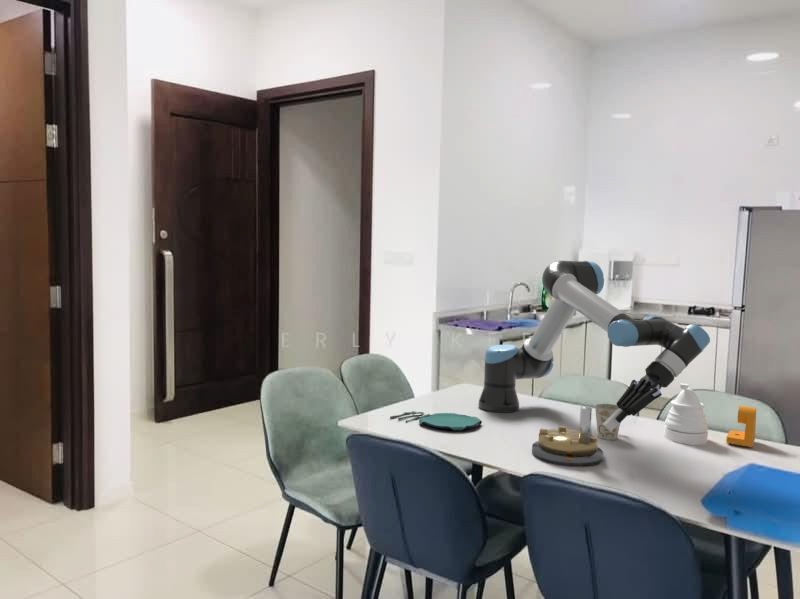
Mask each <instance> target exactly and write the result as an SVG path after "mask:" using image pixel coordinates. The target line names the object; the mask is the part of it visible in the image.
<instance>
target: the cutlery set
mask: <svg viewBox="0 0 800 599" xmlns="http://www.w3.org/2000/svg"><path fill="white" fill-rule="evenodd" d="M411 417H413V418H411ZM408 418H411V419H408ZM389 419H390V420H393V419H397V420H398V421H401V420H404V419H407V420H405V423H406V424H407V423H408V422H411V421H413V420H418V422H419V425H421V423H422V424H424V425H426V426H429V427H433V428H439V429H445V430H446V429H448V430H449V429H450V430H453V431H463V430H465V429H471V428H475V427H477V426H479V425H481V424H482V423H483V421H482V420H481V419H480V418H479V417H477V416H469V415H466V414H460V413H459V414H458V413H454V412H446V413H445V412H438V413H433V414H430V413H427V414H425V412H422V411H415V410H412V411H407V412H403V413H401V414H398V415H391V416H390V417H389Z"/></svg>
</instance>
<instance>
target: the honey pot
mask: <svg viewBox="0 0 800 599" xmlns="http://www.w3.org/2000/svg"><path fill="white" fill-rule="evenodd" d="M679 386H680V389H681V391H680V392H679V393H678V395H676V398H675V399H673V400H671V402H670V405H671V408H670V409H669V410H668V414H667V417H666V419H665V420H664V431H663V437H664V438H665V439H666V440H669V441H671V442H673V441H674V442H673V443H677V442H679V443H678V444H683V443H685V445H692V444H700V445H705V444H707V443H708V433H709V430H708V428H709V425H708V423H707V419H706V414H705V412H704V408H705V404H704V403H702V402H701V401H700V398H699V396H698V395H697V392H695V390H694V389H692V388H690V387H689V386H690V385H689V383H679Z"/></svg>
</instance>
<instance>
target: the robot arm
mask: <svg viewBox="0 0 800 599" xmlns="http://www.w3.org/2000/svg"><path fill="white" fill-rule="evenodd" d="M604 276H605V275H604V272H603V269H602V268H601V266H600V265H599V264H597V263H596V262H594V261H588V260H583V261H581V260H578V261H577V260H556V261H554V262H552V263H550V264H549V265H548V266H546V267H545V269H544V271H543V273H542V277H541V278H542V280H541V283H542V285H543V288H544V290H545V291H546V292H547V293H548V295H549V296H551V297H552V298H553V299H552V302H551V303H550V305H549V307H548V309H547V311H546V312H545V314H544V316H543V318H542V319H541V321H540V322H539V325H537V328H536V330H535V332H534V333H533V335H532V336H531V337H530V338H527V339H526V340H525V341H524V342H523V344H522V346H521V347H519V348H517V346H516V345H514V344H497V345H496V344H495V345H493V346H489V347H488V348H487V349H486V350H485V356H484V357H485V358H484V377H483V378H484V379H483V380H484V381H483V384H484V385H483V388H482V390H481V394H480V395H479V396H480V397H479V399H478V408H479V409H481V410H483V411H486V412H487V411H488V412H494V413H513V412H517V411H519V409H520V400H519V397H518V394H517V390H516V382H517V381H516V380H526V379H527V380H528V379H541V378H544V377H546V376H547V375H549V374H550V373H551V371H552V370H553V367H554V354H553V348H554V347H555V345H556V343H557V341H558V340H559V339H560V337H561V336H562V333H563V332H564V330H565V329H566V327H567V325H569V323H570V321H571V319H572V317H573V316H574V314H575V313H576V311H577V312H579V313H580V314H582V315H583V316H584V317H586V318H587V319H588V320H589V321H591V322H592V323H593V324H595V325H596V326H598V327H600V329H602V330H603V331H605V332H607V337H608V339H609V341H610V343H611V344H612V345H614V346H616V347H624V348H625V347H626V348H629V347H635V346H636V347H639V346H660V347H662V348H664V349H663V350H662V351H661V352H660V353H659V354H658V355H657V356H656V357H655V359H654V360H653V361H652V362H650V364H649V365H647V367H646V368H645V375H644V376H642V377H641V378H640V380H636V379H633V380H631V382H630V384H629V386H628V387H627V389H626V390H625V391H624V393H623V394H622V396H621V397H620V398H619V399H618V400H617V402H616V404H615V405H618V409H617V410H616V411H615V412H614V413H613V414H612V415H611V416H610V417H609V418H608V419H607V420H606V421H605V422H604V423H603V425H604V426H605V427H606V428H607V429H608V430H609V431H610V432H612V431H613V430H614V429H615V427H616V426H617V425H618V424H619V423H620V422H623V421H624V420H625V419H626V418H627V416H628V417H629V416H631V415H632V416H636V415H637V414H638V413H639V412H641V411H642V410H643V409H644V408H645V407H647V406H648V405H649V404H651V403H652V402H654V400H656V399H658V398H660V397H661V396H662V395H663V394H662V392H661V391H660V390H661V389H662V388H664V389H665V388H667V387H669V386H670V385H671V383H672V382H673V381H674V380H675V378H677V377H679V375H680V374H682V372H683V371H684V370H685V369H686V368H687V367H688V365H689V364H690V363H691V362H692V361H693V360H695V359H696V358H697V357H698V356H699V355H701V353H703V352H704V350H705V349H706V348H707V346H708V345H709V344H710V342H711V338H710V335H709V333H708V332H707V331H706V330H705V329H704V328H702V327H701V326H699V325H698V324H695V323H690V324H688V325H687V326H685V327H684V328H683V327H682V326H679V325H677V324H675V323H673V322H671V321H669V320H667V319H666V318H664V317H663V316H662V317H661V316H658V315H656V314H650V315H647V316H646V317H644V318H643V319H634V318H632V317H631V316H628V315H627V314H626V313H624V311H621V310H620V309H618V308H617V307H615V306H614V305H613V304H611V303H609V302H608V301H607V300H605V299H603V297H600V296H599V295H598V294H600V293H601V292H602V290H603V288H604V284H605V277H604ZM620 424H621V423H620Z"/></svg>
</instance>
